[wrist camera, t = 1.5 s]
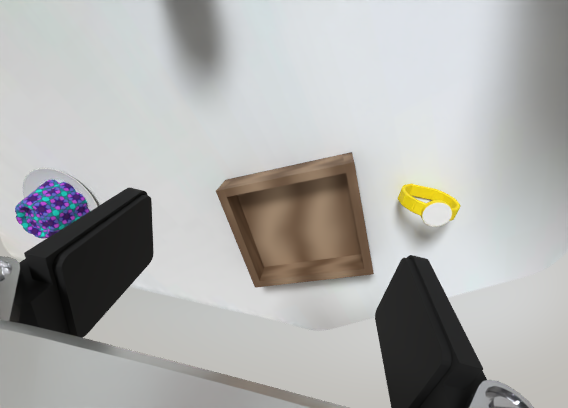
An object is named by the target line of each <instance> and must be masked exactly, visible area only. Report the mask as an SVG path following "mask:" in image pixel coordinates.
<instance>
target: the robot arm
mask: <svg viewBox="0 0 568 408" xmlns="http://www.w3.org/2000/svg"><path fill="white" fill-rule="evenodd" d="M24 254H25V257H26V259H25V260H23V261H21V262H20V263H19V262H18V261H17V260H16V259H13V258H10V257H2V256H0V408H348V407H345V406H341V405H337V404H333V403H330V402H326V401H322V400H319V399H315V398H311V397H307V396H303V395H300V394H296V393H292V392H289V391H285V390H281V389H278V388H274V387H270V386H266V385H262V384H259V383H255V382H251V381H247V380H243V379H240V378H236V377H232V376H228V375H225V374H221V373H217V372H213V371H209V370H205V369H202V368H198V367H194V366H190V365H186V364H182V363H178V362H175V361H171V360H167V359H163V358H159V357H155V356H151V355H148V354H144V353H140V352H136V351H132V350H128V349H124V348H120V347H116V346H112V345H109V344H105V343H101V342H97V341H93V340H89V339H85V338H82V337H84V336H85V335H86V334H87V333H88V332H89V331H90V330H91V329H92V328H93V327H94V326H95V324H96V323H97V322H98V321H99V320H100V319H101V318H102V317H103V315H104V314H105V313H106V312H107V311H108V310H109V308H111V306H112V305H113V304H114V303H115V302H116V300H117V299H118V298H119V297H120V296H121V295H122V294H123V293H124V292H125V291H126V289H127V288H128V287H129V286H130V285H131V284H132V283H133V282H134V280H135V279H136V278H137V277H138V276H139V275H140V274H141V273H142V271H143V270H144V269H145V268H146V267H147V266H148V265H149V263H150V262H151V260H152V258H153V231H152V206H151V198H150V197H149V196H148V195H147V193H146V192H145V191H142V190H138V189H133V188H127V189H125V190H124V191H122V192H120V193H119V194H117V195H116V196H114V197H112V198H111V199H109V200H108V201H106V202H104V203H103V204H101V205H100V206H98V207H97V208H95V209H93V210H92V211H90V212H89V213H87V214H85V215H84V216H82V217H81V218H79V219H77V220H76V221H74V222H73V223H71V224H69V225H68V226H66V227H65V228H63V229H62V230H60V231H58V232H57V233H55V234H54V235H52V236H50V237H49V238H47V239H46V240H44V241H42V242H41V243H39V244H38V245H36V246H35V247H33V248H31V249H30V250H28V251H27V252H25V253H24ZM375 320H376V326H377V331H378V336H379V342H380V348H381V352H382V358H383V364H384V369H385V375H386V380H387V385H388V391H389V396H390V402H391V407H392V408H534V407H533V406H532V405H531V403H530V402H529V401H528V400H527V399H525V398H524V397H523V396H522V395H521V394H520V393H518V392H517V391H515V390H514V389H512V388H511V387H509V386H508V385H505V384H503V383H501V382H499V381H493V380H487V379H486V377H485V375H484V373H483V371H482V370H483V367H482V365H481V363H480V361H479V359H478V357H477V355H476V354H475V352H474V350H473V348H472V346H471V344H470V342H469V340H468V338H467V336H466V334H465V332H464V330H463V328H462V326H461V324H460V322H459V320H458V318H457V316H456V314H455V312H454V310H453V308H452V306H451V304H450V302H449V300H448V298H447V296H446V294H445V292H444V290H443V288H442V286H441V284H440V282H439V280H438V278H437V276H436V274H435V272H434V270H433V268H432V266H431V264H430V262H429V261H428V259H425V258H421V257H416V256H412V255H410V256H408V257H407V258H403V259H402V260H401V261H400V263H399V265H398V267H397V269H396V271H395V273H394V275H393V278H392V280H391V282H390V284H389V286H388V288H387V290H386V292H385V294H384V296H383V298H382V300H381V302H380V304H379V306H378V308H377V310H376V314H375Z"/></svg>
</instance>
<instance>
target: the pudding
mask: <svg viewBox="0 0 568 408" xmlns="http://www.w3.org/2000/svg"><path fill="white" fill-rule="evenodd" d="M48 179H58V180H62V181H65V182H67V183H65V182H62V183H59V182H57V181H55V180H48ZM45 180H48V181H46V182H45V183H44V184H42V185H41V186H40V184H41V183H42V182H43V181H45ZM68 183H69V184H68ZM71 185H72V186H74V187H75V188H76V189H77V190H79V191H80V193H81V194H79V193H77V192H76V191H75V189H74V188H73V187H72V186H71ZM23 195H24V199H23V200H22V201H21V202H19V203H18V205H17V206H16V208H15V212H16V214H17V216H16V219H17V221H18V222H19V223H20V224H21V225H22V226H23V228H24V230H25V231H27V232H28V233H31V234H33V235H35V236H36V237H38V238H49V237H50V236H52V235H54V234H55V233H57V232H58V231H60V230H62V229H63V228H65V227H66V226H68V225H69V224H71V223H73V222H74V221H76V220H77V219H79V218H81V217H82V216H84V215H85V214H87V213H89V212H90V210H91V211H92V210H93V209H95V208H97V207H98V206H97V204H96V202H95V200H94V198H93V197H92V195H91V194H90V193H89V192H88V190H87V189H86V188H85V187H84V186H83V185H82V184H81V183H79V182H78V181H77V180H76V179H74V178H73V177H71V176H69V175H68V174H66V173H64V172H61V171H58V170H55V169H50V168H39V169H35V170H33V171H31V172H30V173H29V174H28V175H27V176H26V177H25V179H24V182H23ZM82 195H83V196H84V197H85V198H84V197H83V196H82ZM86 200H87V201H86ZM87 202H88V204H89V206H90V210H89V209H88V208H87Z"/></svg>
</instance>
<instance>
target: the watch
mask: <svg viewBox="0 0 568 408" xmlns="http://www.w3.org/2000/svg"><path fill="white" fill-rule="evenodd" d="M412 196H415V197H420V198H425V199H430V200H432V201H430V202H428V203H424V202H422V201H419V200H417V199H415V198H414V197H412ZM398 200H399V201H400V203H401V204H402V205H403V206H404V207H405V208H407V209H408V210H410V211H412V212H413V213H415V214H418V215H420V216H421V218H422V220H423V221H424V223H426V224H427V225H429V226H433V227H437V226H442V225H444V224H446V223H447V222H448V221H450V220H453V219H454V218H455V216H456V214H457V212H458V210H459V208H460V204H459V203H458V202H457V200H455V199H454V198H453V197H451V196H450V195H448V194H446V193H444V192H442V191H439V190H437V189H433V188H428V187H423V186H418V185H413V184H408V185H404V186H403V187H402V189H401V192H400V194H399V197H398Z"/></svg>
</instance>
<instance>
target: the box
mask: <svg viewBox="0 0 568 408" xmlns="http://www.w3.org/2000/svg"><path fill="white" fill-rule="evenodd" d="M216 193H217V195H218V197H219V200H220V202H221V205H222V207H223V210H224V212H225V215H226V217H227V220H228V222H229V225H230V227H231V229H232V232H233V234H234V237H235V239H236V242H237V244H238V247H239V249H240V252H241V254H242V256H243V259H244V261H245V264H246V266H247V269H248V271H249V274H250V276H251V279H252V281H253V284H254V286H255V287H264V286H272V285H281V284H290V283H299V282H308V281H317V280H326V279H335V278H344V277H353V276H362V275H371V274H374V273H373V267H372V261H371V256H370V250H369V244H368V239H367V233H366V227H365V221H364V216H363V210H362V204H361V199H360V193H359V187H358V181H357V176H356V170H355V164H354V160H353V156H352V152H351V153H347V154H342V155H337V156H333V157H328V158H324V159H319V160H315V161H310V162H305V163H301V164H296V165H292V166H287V167H283V168H278V169H273V170H269V171H264V172H260V173H255V174H250V175H246V176H241V177H237V178H232V179H228V180H225V181H224V182H223V184H222V185H221V186H220V187H219V188H218V189H217V190H216Z"/></svg>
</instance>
